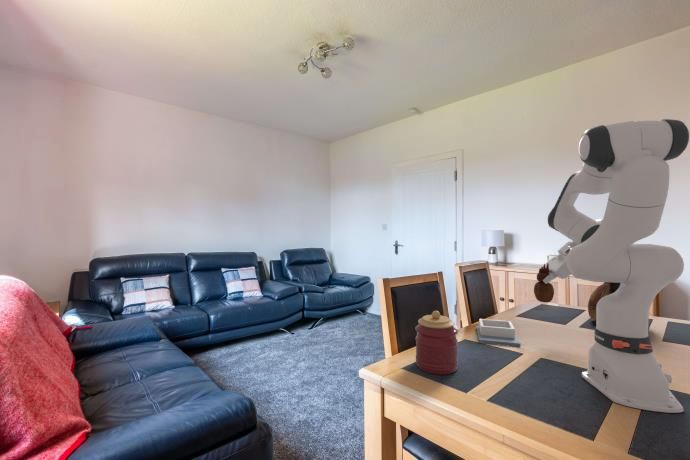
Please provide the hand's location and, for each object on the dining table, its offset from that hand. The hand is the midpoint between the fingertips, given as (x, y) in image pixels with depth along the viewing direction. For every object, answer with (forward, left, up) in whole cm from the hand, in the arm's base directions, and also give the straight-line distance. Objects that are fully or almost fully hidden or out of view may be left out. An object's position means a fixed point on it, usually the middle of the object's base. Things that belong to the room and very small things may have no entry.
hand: (541, 280), depth 125 cm
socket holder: (-2, +16, -23) cm, 28 cm away
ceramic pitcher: (+30, -35, -23) cm, 51 cm away
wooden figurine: (0, -1, -8) cm, 8 cm away
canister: (-37, +37, -23) cm, 57 cm away
